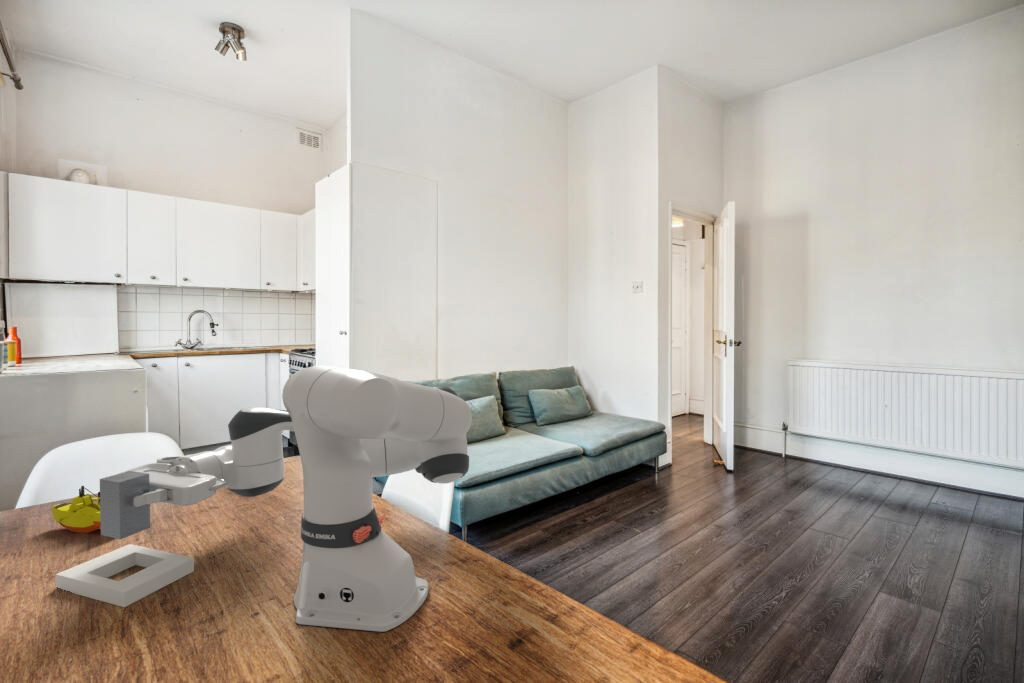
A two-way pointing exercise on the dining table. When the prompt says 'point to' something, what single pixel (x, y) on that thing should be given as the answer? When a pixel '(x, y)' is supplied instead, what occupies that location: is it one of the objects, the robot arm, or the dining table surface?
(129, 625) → the dining table surface
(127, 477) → the grey metal block
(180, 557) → the white rectangular frame
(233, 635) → the dining table surface
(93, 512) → the toy boat
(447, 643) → the dining table surface
